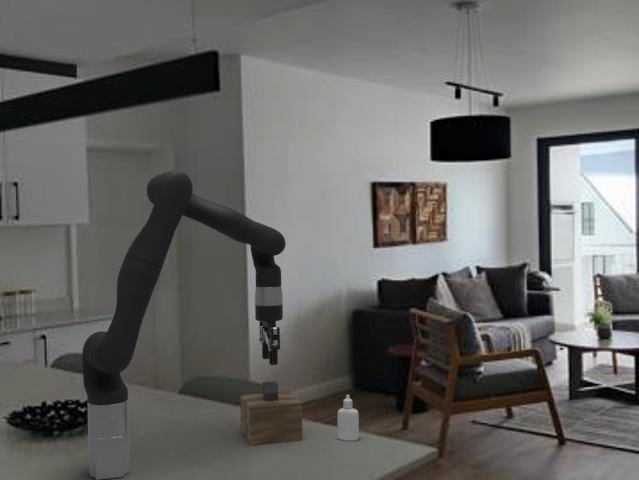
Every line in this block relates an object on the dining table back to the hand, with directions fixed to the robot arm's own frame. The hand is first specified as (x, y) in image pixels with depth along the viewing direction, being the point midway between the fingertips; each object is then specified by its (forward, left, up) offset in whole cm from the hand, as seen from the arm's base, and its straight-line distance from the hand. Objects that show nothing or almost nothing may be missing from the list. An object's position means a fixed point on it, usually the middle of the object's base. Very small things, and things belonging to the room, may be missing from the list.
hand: (269, 361), depth 200 cm
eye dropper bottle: (-10, -19, -21) cm, 30 cm away
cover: (0, 0, -20) cm, 20 cm away
